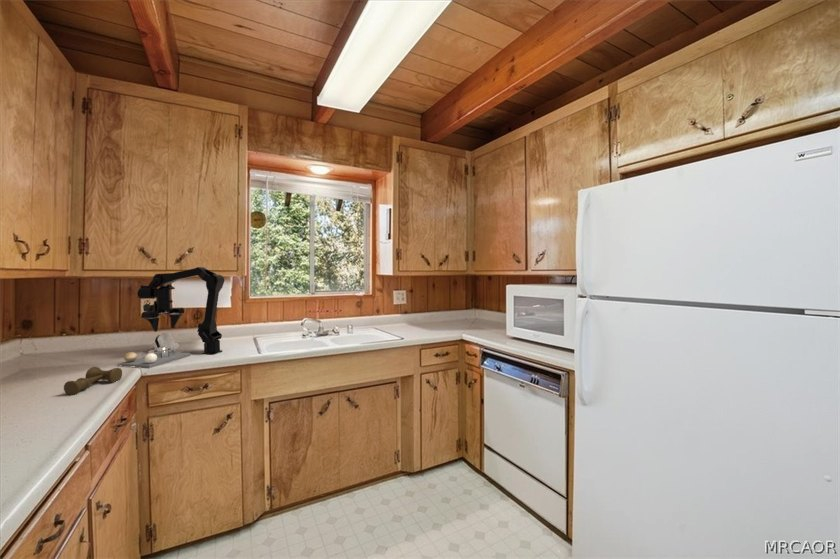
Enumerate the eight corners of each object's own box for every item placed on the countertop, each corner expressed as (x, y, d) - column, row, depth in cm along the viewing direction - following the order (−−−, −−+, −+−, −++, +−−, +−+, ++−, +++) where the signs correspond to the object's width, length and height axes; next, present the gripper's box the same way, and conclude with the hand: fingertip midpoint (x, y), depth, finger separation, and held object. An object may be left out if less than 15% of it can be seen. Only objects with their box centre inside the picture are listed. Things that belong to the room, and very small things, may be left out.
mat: (190, 355, 170) (190, 353, 170) (149, 368, 150) (149, 365, 150) (163, 354, 173) (163, 351, 173) (119, 366, 153) (119, 363, 153)
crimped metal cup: (180, 353, 170) (180, 348, 170) (161, 358, 160) (160, 353, 160) (163, 352, 172) (163, 347, 172) (142, 357, 162) (142, 352, 162)
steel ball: (170, 354, 168) (170, 345, 168) (161, 356, 164) (162, 346, 164) (162, 354, 169) (163, 345, 169) (154, 355, 165) (154, 346, 165)
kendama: (55, 397, 119) (106, 376, 138) (84, 397, 119) (131, 377, 139) (54, 380, 118) (105, 362, 138) (83, 380, 118) (130, 362, 138)
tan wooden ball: (139, 360, 157) (139, 351, 157) (129, 363, 153) (129, 353, 152) (131, 360, 158) (131, 350, 158) (121, 363, 154) (121, 353, 153)
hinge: (169, 353, 175) (160, 335, 174) (158, 357, 174) (149, 339, 172) (179, 346, 191) (171, 329, 189) (169, 349, 189) (161, 333, 188)
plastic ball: (159, 362, 155) (159, 352, 155) (150, 364, 150) (150, 354, 150) (151, 361, 156) (151, 351, 155) (142, 364, 151) (141, 354, 151)
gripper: (166, 296, 184) (168, 326, 185) (131, 300, 166) (132, 332, 166) (184, 297, 182) (185, 326, 182) (150, 300, 163) (151, 333, 164)
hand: (164, 329), depth 174 cm, fingers open, 9 cm apart
